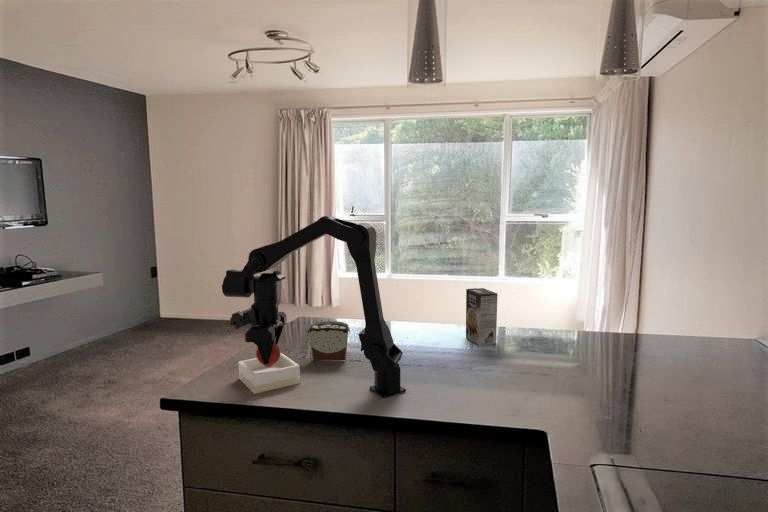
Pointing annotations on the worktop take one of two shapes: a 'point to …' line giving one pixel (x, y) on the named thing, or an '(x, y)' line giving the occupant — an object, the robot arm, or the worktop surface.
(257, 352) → the onion
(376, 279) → the robot arm
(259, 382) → the open white tray
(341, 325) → the food container
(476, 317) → the coffee box
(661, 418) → the worktop surface
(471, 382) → the worktop surface
